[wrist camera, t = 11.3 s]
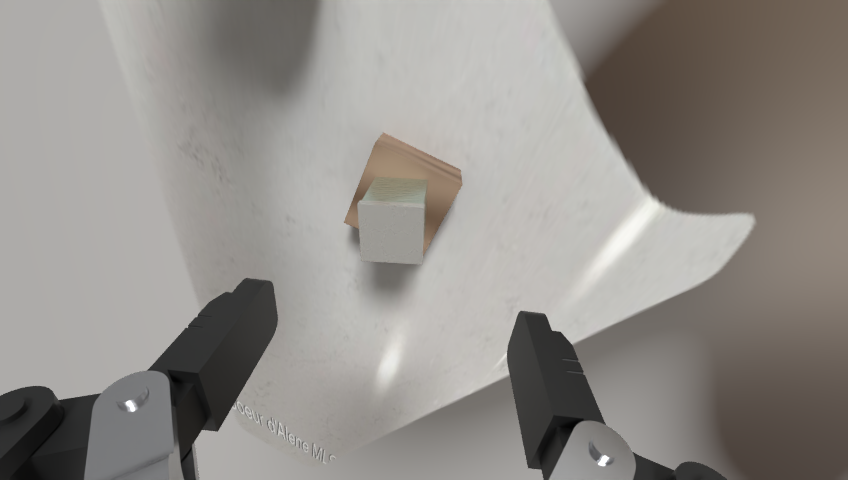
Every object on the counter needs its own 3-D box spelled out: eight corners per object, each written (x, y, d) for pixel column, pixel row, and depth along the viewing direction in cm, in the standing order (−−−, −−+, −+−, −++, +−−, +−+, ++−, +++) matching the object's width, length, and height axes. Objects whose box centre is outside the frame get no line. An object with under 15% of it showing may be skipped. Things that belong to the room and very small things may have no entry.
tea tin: (374, 175, 33) (357, 204, 27) (428, 178, 33) (424, 207, 27) (376, 224, 36) (361, 260, 29) (426, 227, 35) (421, 264, 29)
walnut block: (383, 132, 36) (375, 142, 32) (460, 169, 37) (462, 184, 33) (354, 203, 40) (343, 222, 36) (425, 234, 41) (422, 256, 37)
